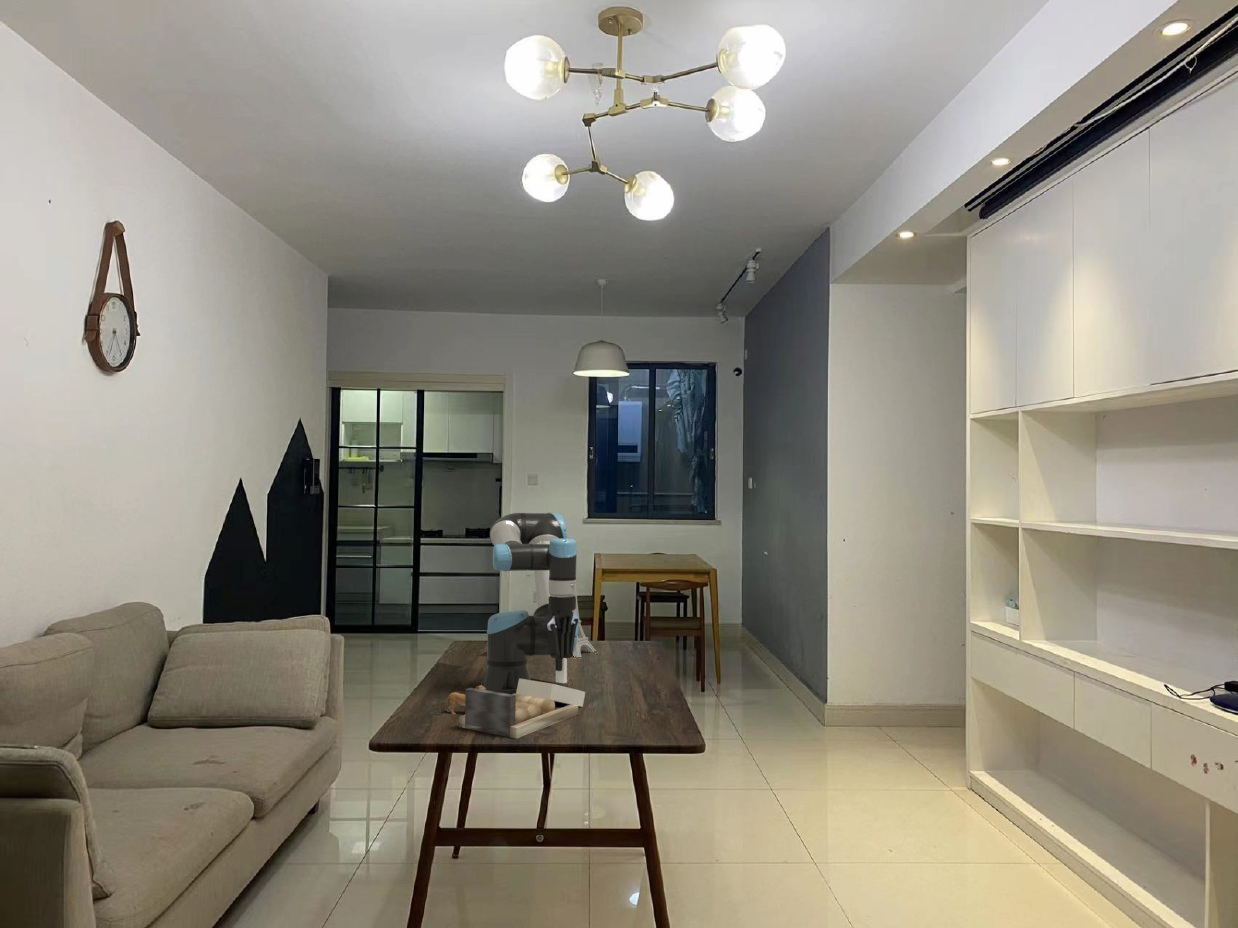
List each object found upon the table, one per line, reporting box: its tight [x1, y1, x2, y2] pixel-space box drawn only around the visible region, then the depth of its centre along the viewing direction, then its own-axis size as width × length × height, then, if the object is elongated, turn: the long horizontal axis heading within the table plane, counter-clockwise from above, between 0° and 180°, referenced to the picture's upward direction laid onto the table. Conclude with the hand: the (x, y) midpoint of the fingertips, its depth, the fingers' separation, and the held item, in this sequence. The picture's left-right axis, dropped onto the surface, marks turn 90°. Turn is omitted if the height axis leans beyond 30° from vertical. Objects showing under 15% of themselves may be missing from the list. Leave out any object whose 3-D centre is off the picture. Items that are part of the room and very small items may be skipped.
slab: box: [516, 679, 586, 708], centre depth 227 cm, size 11×16×4 cm
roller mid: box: [516, 702, 541, 720], centre depth 214 cm, size 12×4×4 cm
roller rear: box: [512, 694, 556, 715], centre depth 220 cm, size 12×4×4 cm
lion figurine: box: [439, 685, 486, 715], centre depth 221 cm, size 12×4×7 cm, turn 92°
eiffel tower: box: [572, 575, 597, 657], centre depth 304 cm, size 13×13×30 cm
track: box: [458, 687, 579, 739], centre depth 215 cm, size 18×26×10 cm
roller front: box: [515, 708, 529, 725], centre depth 209 cm, size 12×4×4 cm
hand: (561, 682), depth 230 cm, fingers closed
